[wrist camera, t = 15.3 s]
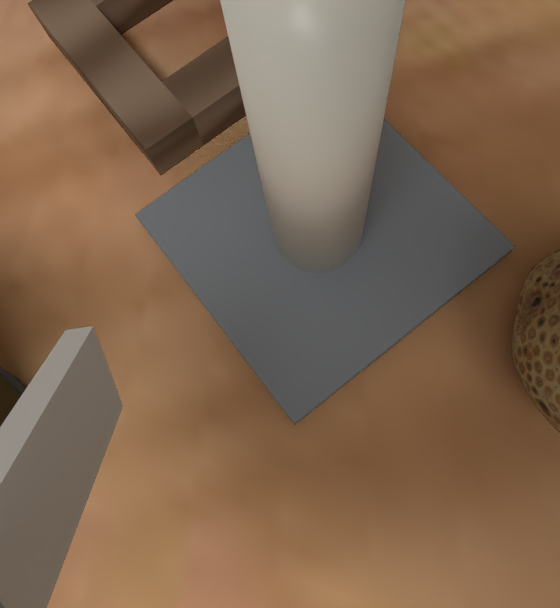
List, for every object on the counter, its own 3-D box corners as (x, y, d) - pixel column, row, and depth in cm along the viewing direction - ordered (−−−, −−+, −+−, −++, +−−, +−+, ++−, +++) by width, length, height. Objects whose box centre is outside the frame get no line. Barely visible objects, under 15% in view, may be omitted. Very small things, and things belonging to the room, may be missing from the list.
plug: (381, 236, 26) (454, -34, 11) (310, 290, 25) (295, 78, 11) (324, 175, 27) (325, -137, 13) (256, 225, 27) (178, -40, 12)
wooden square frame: (338, 49, 30) (340, 14, 28) (160, 175, 29) (145, 149, 26) (213, -70, 34) (205, -110, 31) (49, 36, 32) (27, 3, 30)
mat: (510, 251, 26) (515, 246, 25) (294, 424, 24) (293, 423, 24) (335, 79, 29) (335, 71, 29) (138, 219, 28) (134, 214, 27)
